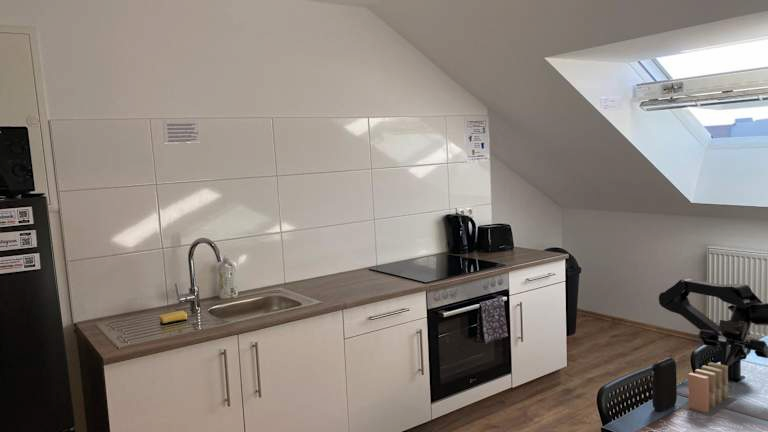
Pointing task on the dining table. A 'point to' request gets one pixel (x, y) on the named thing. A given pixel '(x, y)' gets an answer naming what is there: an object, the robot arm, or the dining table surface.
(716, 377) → the domino
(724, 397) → the domino
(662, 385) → the black upright slab
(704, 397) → the domino
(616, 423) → the dining table surface
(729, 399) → the rubber mat
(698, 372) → the domino
